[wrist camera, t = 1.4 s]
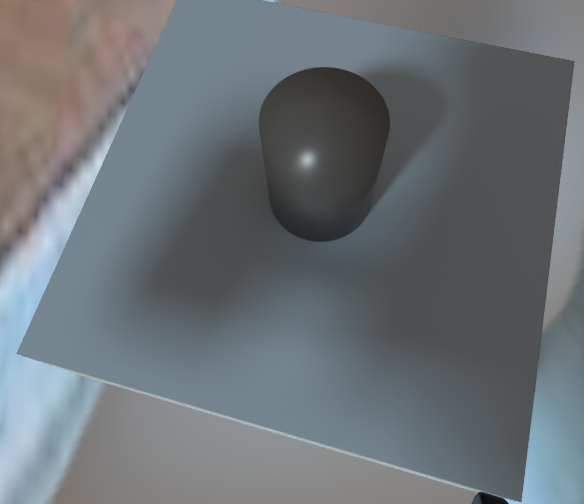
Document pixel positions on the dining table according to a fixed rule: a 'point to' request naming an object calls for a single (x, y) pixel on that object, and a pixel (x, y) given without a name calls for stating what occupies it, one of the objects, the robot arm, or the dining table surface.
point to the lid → (325, 237)
